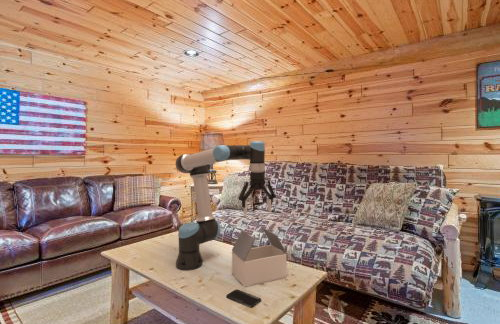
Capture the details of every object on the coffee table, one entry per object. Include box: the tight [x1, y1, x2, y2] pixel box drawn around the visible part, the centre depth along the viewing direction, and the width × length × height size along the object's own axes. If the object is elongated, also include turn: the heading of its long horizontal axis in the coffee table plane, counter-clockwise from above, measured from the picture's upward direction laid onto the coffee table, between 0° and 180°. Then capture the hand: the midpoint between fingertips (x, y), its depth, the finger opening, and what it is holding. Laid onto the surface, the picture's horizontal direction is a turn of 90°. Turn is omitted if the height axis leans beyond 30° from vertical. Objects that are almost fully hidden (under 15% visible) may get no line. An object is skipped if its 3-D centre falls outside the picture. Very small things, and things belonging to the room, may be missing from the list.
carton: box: [231, 244, 287, 288], centre depth 151 cm, size 16×24×12 cm, turn 115°
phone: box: [225, 288, 262, 309], centre depth 128 cm, size 8×1×15 cm
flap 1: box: [231, 230, 256, 261], centre depth 146 cm, size 16×12×1 cm
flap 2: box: [261, 227, 287, 254], centre depth 154 cm, size 16×12×1 cm
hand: (257, 212), depth 147 cm, fingers open, 13 cm apart
